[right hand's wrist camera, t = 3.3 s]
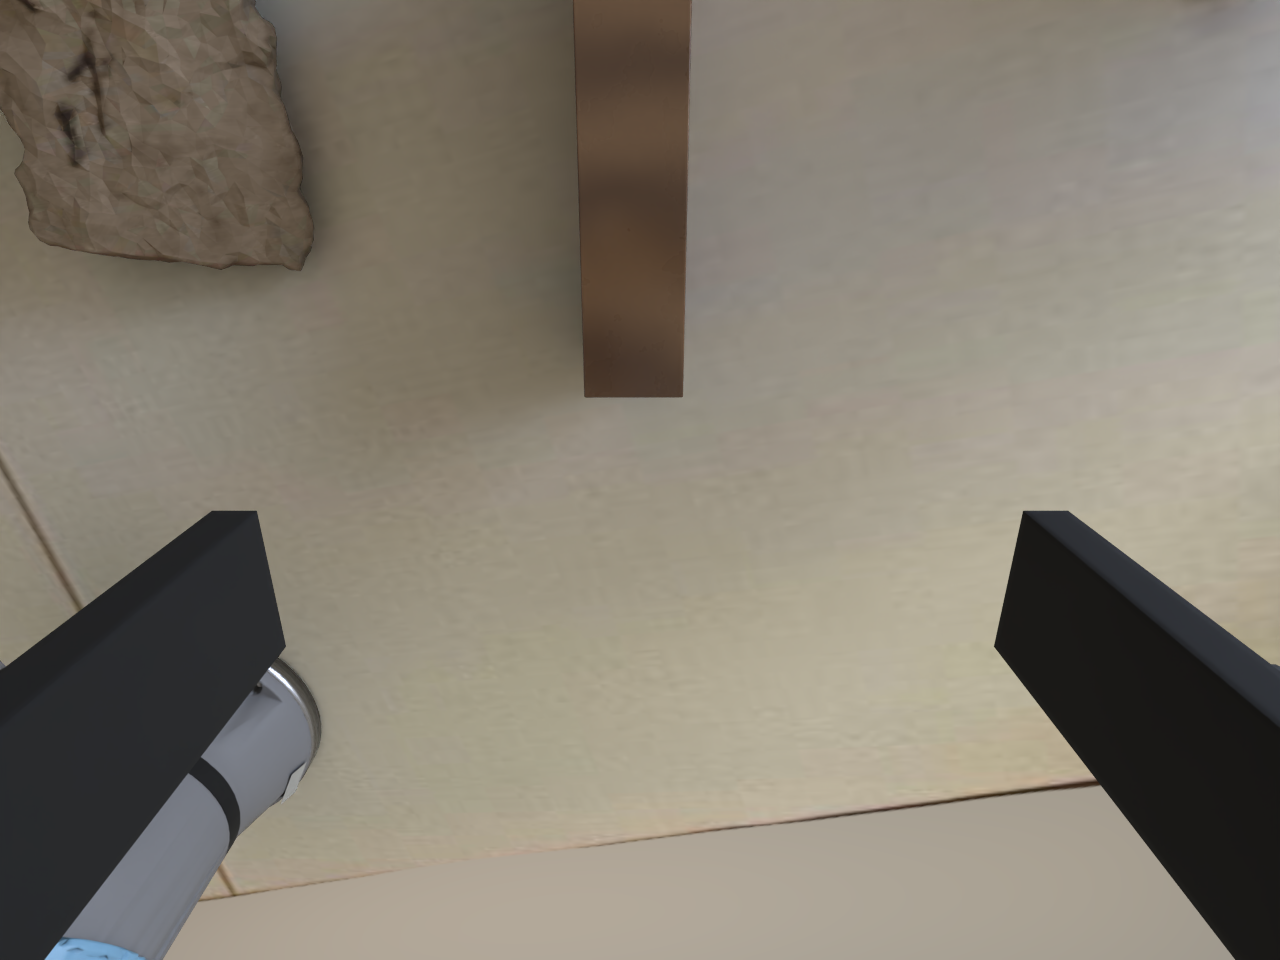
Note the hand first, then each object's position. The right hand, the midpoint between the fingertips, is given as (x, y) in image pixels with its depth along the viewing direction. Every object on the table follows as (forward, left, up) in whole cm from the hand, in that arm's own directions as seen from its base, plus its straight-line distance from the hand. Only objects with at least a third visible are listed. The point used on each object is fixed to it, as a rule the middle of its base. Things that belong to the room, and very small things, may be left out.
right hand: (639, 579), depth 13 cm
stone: (-25, +12, -34) cm, 43 cm away
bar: (0, +10, -34) cm, 35 cm away
